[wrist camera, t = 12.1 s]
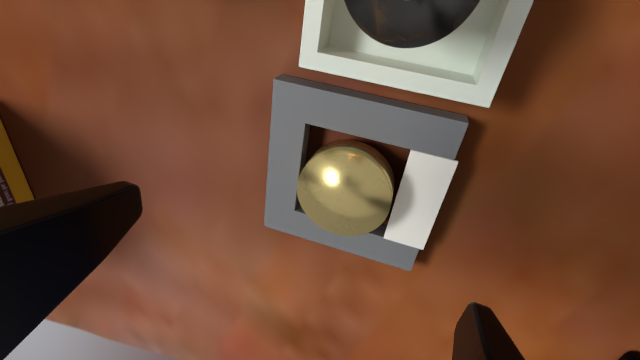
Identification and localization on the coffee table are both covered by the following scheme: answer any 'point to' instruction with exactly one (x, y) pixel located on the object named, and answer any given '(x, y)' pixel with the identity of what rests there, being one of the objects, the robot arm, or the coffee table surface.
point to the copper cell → (409, 19)
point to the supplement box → (11, 174)
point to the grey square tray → (372, 123)
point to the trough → (417, 51)
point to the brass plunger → (346, 188)
